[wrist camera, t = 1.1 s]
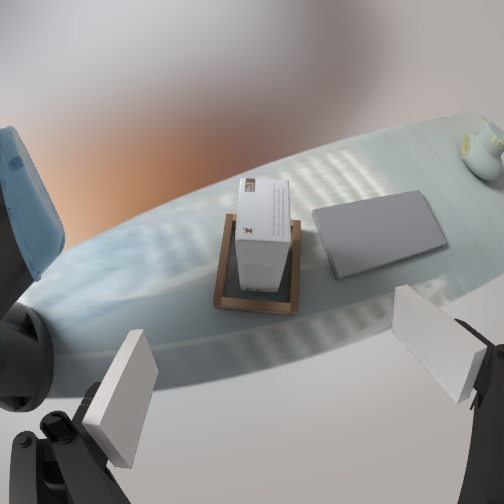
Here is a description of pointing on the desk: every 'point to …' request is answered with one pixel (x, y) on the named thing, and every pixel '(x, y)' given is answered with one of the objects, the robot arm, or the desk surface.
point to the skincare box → (262, 233)
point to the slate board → (377, 232)
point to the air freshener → (484, 151)
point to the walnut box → (258, 305)
